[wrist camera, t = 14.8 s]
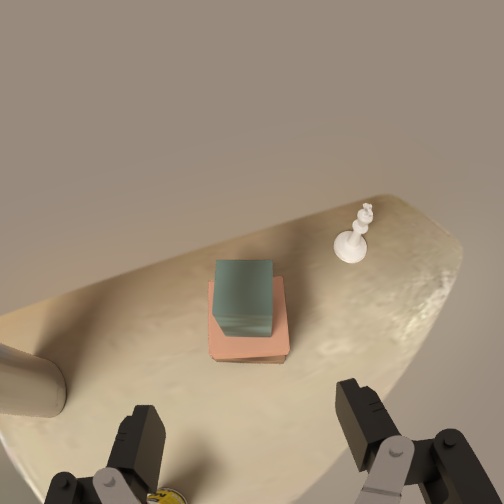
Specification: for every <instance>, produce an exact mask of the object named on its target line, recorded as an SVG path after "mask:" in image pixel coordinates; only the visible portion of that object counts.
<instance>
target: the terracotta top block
mask: <svg viewBox="0 0 504 504" xmlns="http://www.w3.org/2000/svg"><path fill="white" fill-rule="evenodd" d="M214 283H215V281H208V326H209V355H210V356H212V357H213V358H214V359H231V358H251V357H266V356H279V355H288V353H289V351H290V346H289V335H288V324H287V314H286V304H285V294H284V285H283V276H276V277H273V317H272V330H271V337H226V336H225V335H224V333H223V331H222V330H221V328H220V326H219V325H218V323H217V321H216V320H215V318H214V316H213V315H212V306H213V294H214Z"/></svg>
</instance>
